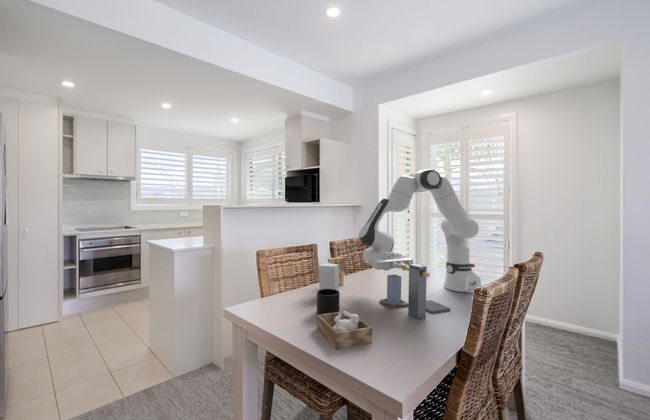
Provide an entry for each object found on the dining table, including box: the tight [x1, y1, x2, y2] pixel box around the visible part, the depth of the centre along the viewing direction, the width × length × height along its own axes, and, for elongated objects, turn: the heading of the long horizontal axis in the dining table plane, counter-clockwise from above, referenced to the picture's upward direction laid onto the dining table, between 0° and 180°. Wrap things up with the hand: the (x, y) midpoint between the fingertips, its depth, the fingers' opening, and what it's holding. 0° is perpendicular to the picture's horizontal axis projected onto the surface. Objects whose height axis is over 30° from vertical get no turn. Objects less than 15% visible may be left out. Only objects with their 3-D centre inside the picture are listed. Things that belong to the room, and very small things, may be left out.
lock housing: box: [407, 263, 428, 320], centre depth 124 cm, size 4×6×21 cm, turn 23°
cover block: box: [386, 274, 402, 305], centre depth 139 cm, size 4×4×13 cm
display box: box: [316, 310, 373, 350], centre depth 106 cm, size 13×17×5 cm
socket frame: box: [379, 297, 408, 310], centre depth 139 cm, size 10×10×1 cm
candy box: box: [327, 256, 345, 286], centre depth 170 cm, size 9×4×15 cm, turn 129°
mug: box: [316, 289, 341, 315], centre depth 128 cm, size 9×12×9 cm
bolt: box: [401, 264, 431, 278], centre depth 125 cm, size 2×15×2 cm, turn 23°
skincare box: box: [318, 262, 340, 292], centre depth 151 cm, size 8×7×16 cm
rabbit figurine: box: [333, 310, 360, 332], centre depth 106 cm, size 12×8×10 cm, turn 82°
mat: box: [426, 299, 451, 315], centre depth 135 cm, size 10×12×1 cm
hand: (402, 266), depth 133 cm, fingers closed
